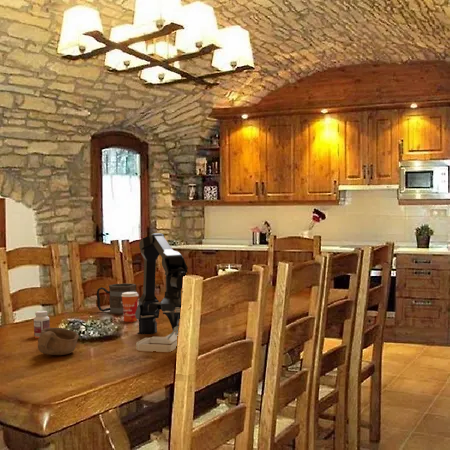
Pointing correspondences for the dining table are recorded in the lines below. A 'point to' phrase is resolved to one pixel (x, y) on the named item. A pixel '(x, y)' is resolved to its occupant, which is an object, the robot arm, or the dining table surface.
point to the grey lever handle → (172, 335)
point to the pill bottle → (40, 322)
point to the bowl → (57, 341)
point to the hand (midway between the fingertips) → (174, 330)
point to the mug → (116, 297)
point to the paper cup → (129, 306)
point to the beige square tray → (155, 345)
